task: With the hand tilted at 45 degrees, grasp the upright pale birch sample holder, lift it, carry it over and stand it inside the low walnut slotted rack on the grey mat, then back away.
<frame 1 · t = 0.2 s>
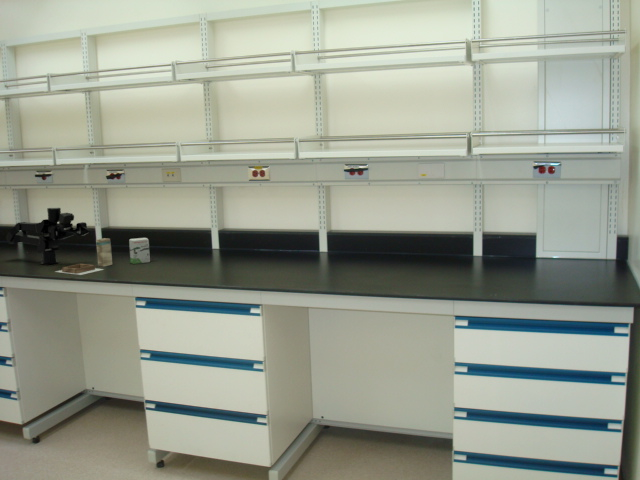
hand: (81, 232, 277), 17 cm above the worktop, tool horizontal, fingers open, 9 cm apart
rack: (78, 270, 270), resting on mat
ink box: (140, 262, 289), on the worktop
mat: (79, 271, 271), on the worktop
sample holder: (105, 265, 282), on the worktop
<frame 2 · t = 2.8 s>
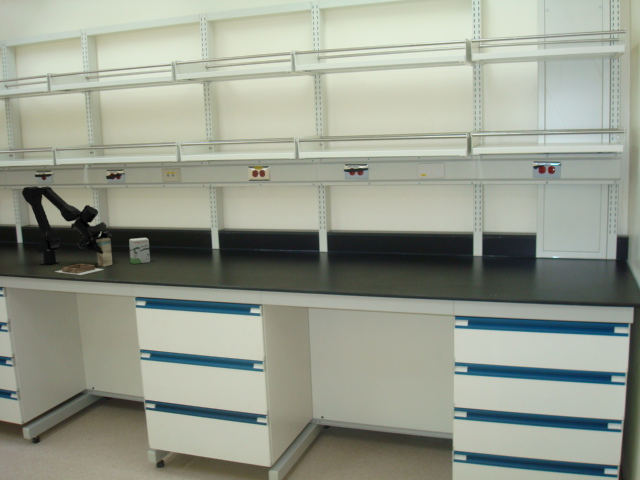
hand: (106, 252, 281), 7 cm above the worktop, tool tilted 45°, fingers closed on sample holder, 6 cm apart
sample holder: (105, 265, 282), on the worktop, touching gripper
everything else where it was.
when the fingers open (9 cm above the worktop, at t = 6.2 s): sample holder drops 2 cm, resting on mat.
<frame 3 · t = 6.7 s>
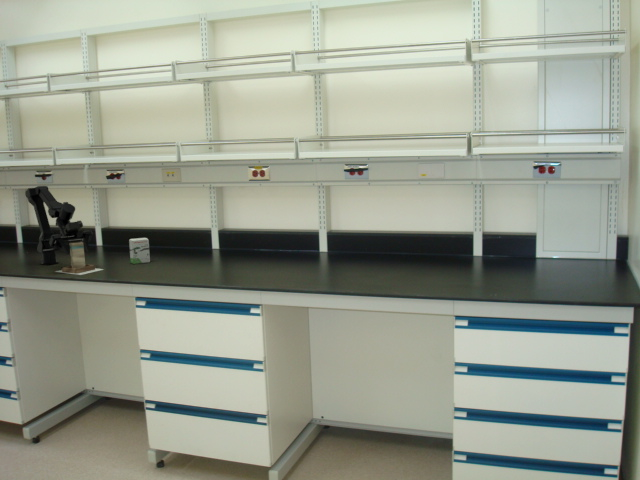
hand: (78, 252, 268), 9 cm above the worktop, tool tilted 45°, fingers open, 9 cm apart
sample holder: (78, 270, 270), resting on mat
everything else where it was.
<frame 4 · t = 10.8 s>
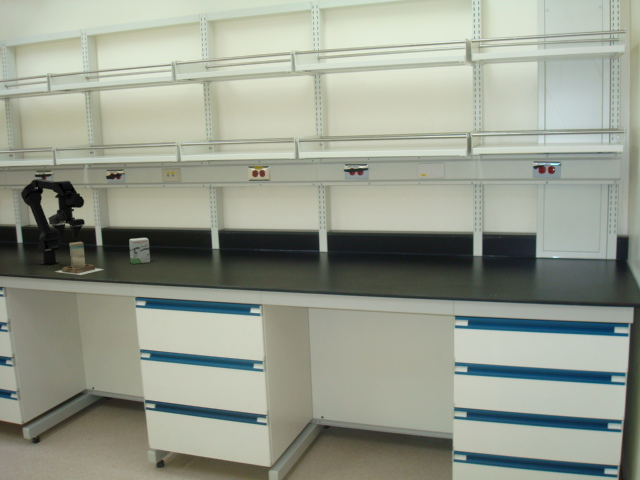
hand: (68, 239, 282), 13 cm above the worktop, tool pointing down, fingers open, 9 cm apart
nothing on the worktop moved.
at the end: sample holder inside the target area on the rack (0.1 cm from its centre), point 0.0 cm above the rack's base; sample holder tilted 0°; the gripper is holding nothing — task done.
